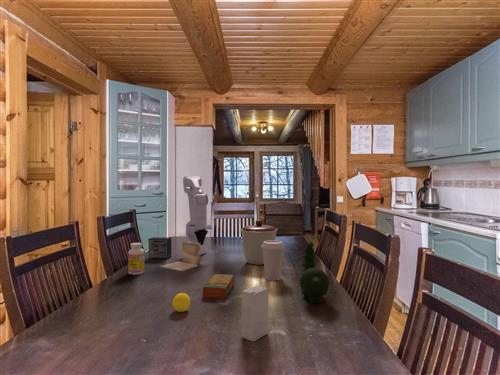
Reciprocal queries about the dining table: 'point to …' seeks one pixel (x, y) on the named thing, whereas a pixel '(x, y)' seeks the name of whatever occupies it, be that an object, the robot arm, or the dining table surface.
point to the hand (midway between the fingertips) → (201, 244)
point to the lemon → (181, 302)
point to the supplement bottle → (136, 259)
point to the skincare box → (254, 313)
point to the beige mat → (179, 266)
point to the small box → (160, 248)
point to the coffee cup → (272, 259)
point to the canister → (256, 241)
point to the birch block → (191, 252)
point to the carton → (218, 286)
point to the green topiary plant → (313, 277)
